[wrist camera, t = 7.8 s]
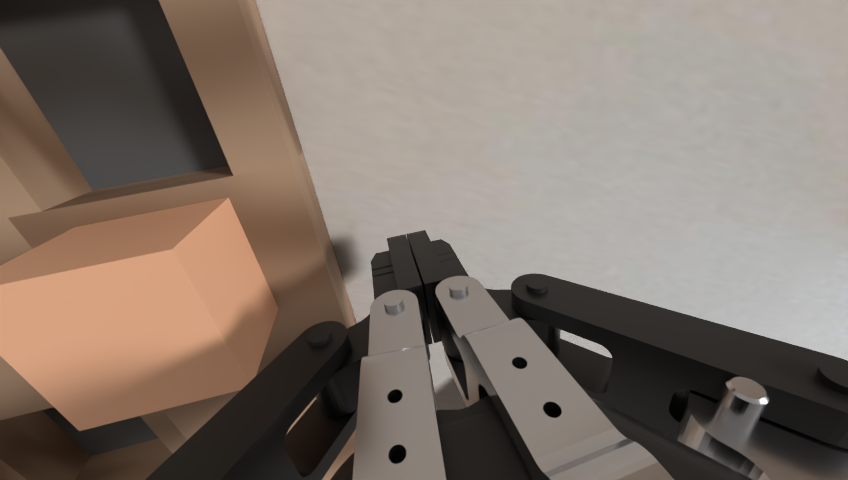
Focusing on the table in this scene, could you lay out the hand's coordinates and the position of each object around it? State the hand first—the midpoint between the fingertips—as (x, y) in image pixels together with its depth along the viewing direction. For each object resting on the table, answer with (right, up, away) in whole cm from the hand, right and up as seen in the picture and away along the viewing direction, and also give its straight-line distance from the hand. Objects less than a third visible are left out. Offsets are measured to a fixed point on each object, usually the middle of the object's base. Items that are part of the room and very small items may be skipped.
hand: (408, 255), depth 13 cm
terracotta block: (-8, -1, 0) cm, 8 cm away
